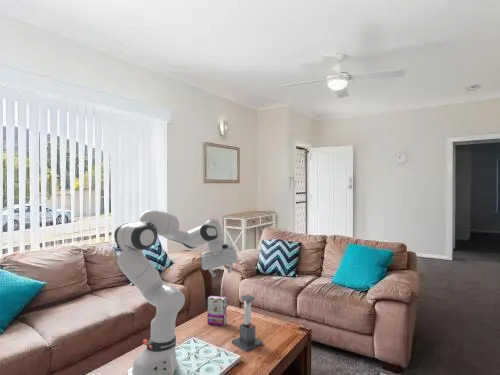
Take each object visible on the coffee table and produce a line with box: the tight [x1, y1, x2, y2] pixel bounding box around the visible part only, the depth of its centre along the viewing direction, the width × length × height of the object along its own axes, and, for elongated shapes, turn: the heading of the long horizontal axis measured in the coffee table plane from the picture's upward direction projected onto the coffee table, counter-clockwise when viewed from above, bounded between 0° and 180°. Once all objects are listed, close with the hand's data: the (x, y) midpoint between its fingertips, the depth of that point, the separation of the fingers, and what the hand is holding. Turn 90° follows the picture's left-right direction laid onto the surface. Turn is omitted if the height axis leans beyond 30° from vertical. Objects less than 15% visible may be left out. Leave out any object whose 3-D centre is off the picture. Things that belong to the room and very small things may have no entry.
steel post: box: [241, 294, 255, 328], centre depth 177 cm, size 5×5×24 cm
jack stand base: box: [231, 323, 264, 352], centre depth 177 cm, size 12×12×11 cm
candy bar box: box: [206, 295, 228, 327], centre depth 202 cm, size 11×5×16 cm, turn 73°
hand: (221, 274), depth 172 cm, fingers open, 8 cm apart
